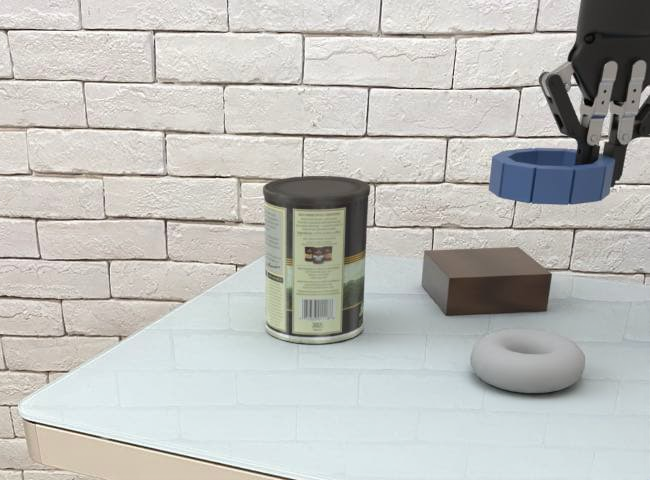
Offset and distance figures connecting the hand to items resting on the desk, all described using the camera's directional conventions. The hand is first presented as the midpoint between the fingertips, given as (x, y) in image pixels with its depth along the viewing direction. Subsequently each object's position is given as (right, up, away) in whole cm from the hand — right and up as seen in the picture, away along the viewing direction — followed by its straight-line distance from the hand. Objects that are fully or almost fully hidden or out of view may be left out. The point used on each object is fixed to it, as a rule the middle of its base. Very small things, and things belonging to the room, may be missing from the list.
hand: (595, 185), depth 89 cm
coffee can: (-26, -11, +10) cm, 30 cm away
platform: (-6, -6, +18) cm, 20 cm away
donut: (-7, -18, -2) cm, 20 cm away
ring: (-5, -1, 0) cm, 5 cm away
